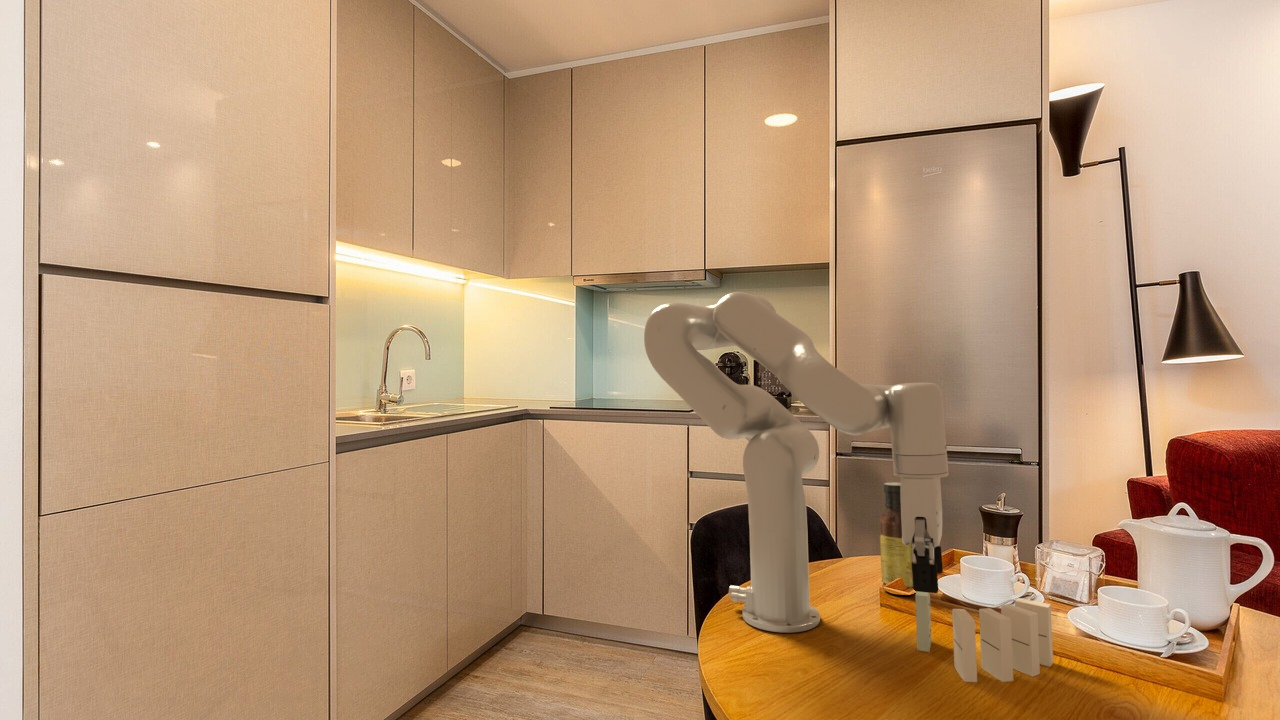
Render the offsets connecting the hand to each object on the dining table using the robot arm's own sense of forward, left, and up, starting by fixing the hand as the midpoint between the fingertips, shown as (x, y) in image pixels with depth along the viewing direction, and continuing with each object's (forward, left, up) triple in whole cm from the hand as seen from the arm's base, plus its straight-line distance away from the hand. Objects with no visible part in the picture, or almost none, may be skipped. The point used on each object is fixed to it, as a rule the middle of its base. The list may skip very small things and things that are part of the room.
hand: (928, 581), depth 93 cm
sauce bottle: (-7, +23, -10) cm, 26 cm away
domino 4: (+13, +2, -10) cm, 16 cm away
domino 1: (+5, -7, -10) cm, 13 cm away
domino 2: (+8, -5, -10) cm, 14 cm away
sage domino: (-1, 0, -10) cm, 10 cm away
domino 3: (+11, -2, -10) cm, 15 cm away
